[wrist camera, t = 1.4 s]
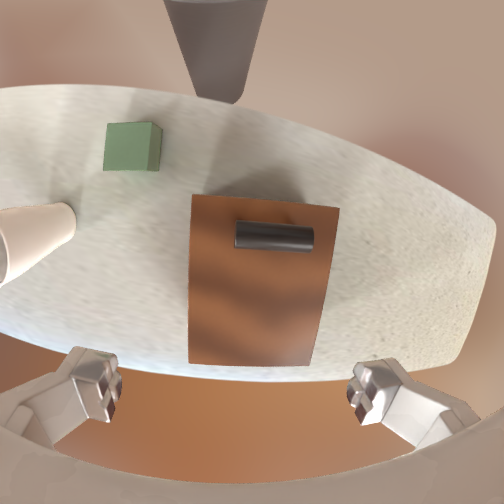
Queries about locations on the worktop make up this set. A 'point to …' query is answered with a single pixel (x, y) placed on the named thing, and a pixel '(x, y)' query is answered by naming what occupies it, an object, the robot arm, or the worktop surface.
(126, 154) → the block
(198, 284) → the lid
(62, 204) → the white tapered cylinder
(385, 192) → the worktop surface
